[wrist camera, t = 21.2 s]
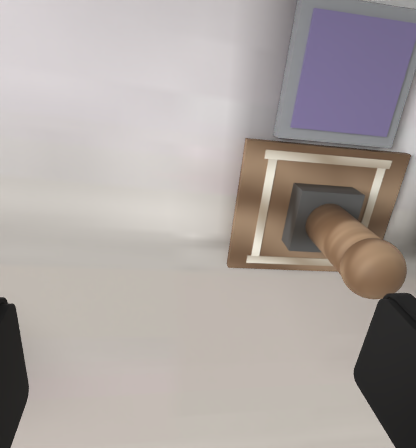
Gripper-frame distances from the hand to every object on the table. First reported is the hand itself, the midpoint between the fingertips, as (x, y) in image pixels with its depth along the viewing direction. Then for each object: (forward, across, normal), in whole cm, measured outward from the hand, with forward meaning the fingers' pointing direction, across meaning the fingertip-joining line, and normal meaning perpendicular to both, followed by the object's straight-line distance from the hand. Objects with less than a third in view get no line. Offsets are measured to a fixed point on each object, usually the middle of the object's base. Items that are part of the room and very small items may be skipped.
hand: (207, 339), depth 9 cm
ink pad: (+25, -15, -6) cm, 30 cm away
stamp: (+24, -15, +6) cm, 29 cm away
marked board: (+24, -15, +6) cm, 29 cm away
